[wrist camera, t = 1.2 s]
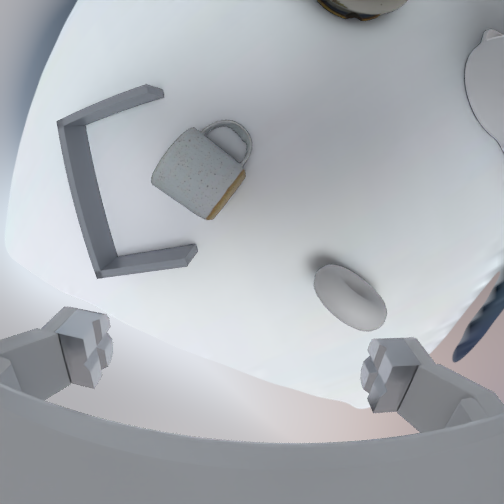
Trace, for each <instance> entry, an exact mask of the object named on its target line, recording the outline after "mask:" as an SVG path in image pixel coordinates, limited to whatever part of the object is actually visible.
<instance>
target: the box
mask: <svg viewBox="0 0 504 504" xmlns="http://www.w3.org/2000/svg"><path fill="white" fill-rule="evenodd" d="M163 97H164V94H163V90H162V89H159V88H156V87H153V86H150V85H147V84H146V85H143V86H140V87H137V88H134V89H131V90H129V91H126V92H123V93H121V94H118V95H115V96H113V97H110V98H108V99H105V100H103V101H100V102H98V103H96V104H93V105H91V106H89V107H86V108H84V109H82V110H80V111H77V112H75V113H73V114H71V115H69V116H67V117H65V118H63V119H60V120H58V121H57V127H58V133H59V138H60V144H61V149H62V154H63V159H64V164H65V169H66V173H67V178H68V182H69V186H70V190H71V194H72V198H73V202H74V206H75V210H76V213H77V217H78V221H79V224H80V228H81V231H82V234H83V238H84V241H85V244H86V247H87V250H88V254H89V257H90V260H91V263H92V266H93V269H94V271H95V274H96V277H97V279H98V278H106V277H113V276H121V275H128V274H136V273H143V272H150V271H158V270H165V269H172V268H180V267H187V266H188V264H189V263H190V262H191V260H192V259H193V257H194V256H195V255H196V253H197V252H198V250H197V246H196V244H193V245H187V246H180V247H174V248H168V249H161V250H155V251H149V252H143V253H137V254H131V255H125V256H119V257H118V256H117V253H116V250H115V246H114V243H113V240H112V236H111V233H110V230H109V226H108V222H107V219H106V215H105V212H104V208H103V204H102V200H101V196H100V192H99V188H98V184H97V180H96V175H95V171H94V166H93V162H92V157H91V152H90V147H89V142H88V137H87V132H86V126H85V125H87V124H90V123H92V122H95V121H97V120H100V119H102V118H105V117H107V116H110V115H112V114H115V113H118V112H121V111H123V110H126V109H129V108H132V107H135V106H138V105H141V104H144V103H147V102H150V101H153V100H156V99H159V98H163Z"/></svg>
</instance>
